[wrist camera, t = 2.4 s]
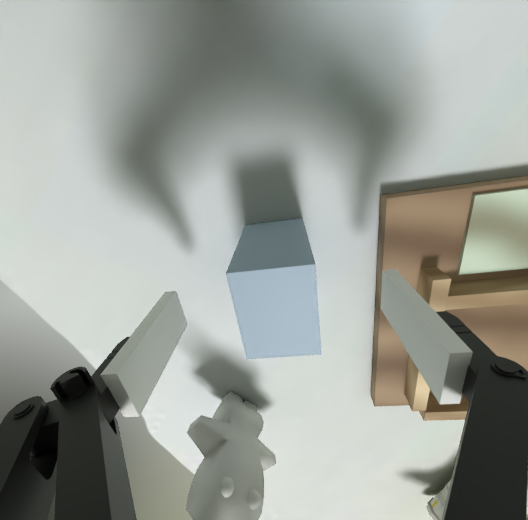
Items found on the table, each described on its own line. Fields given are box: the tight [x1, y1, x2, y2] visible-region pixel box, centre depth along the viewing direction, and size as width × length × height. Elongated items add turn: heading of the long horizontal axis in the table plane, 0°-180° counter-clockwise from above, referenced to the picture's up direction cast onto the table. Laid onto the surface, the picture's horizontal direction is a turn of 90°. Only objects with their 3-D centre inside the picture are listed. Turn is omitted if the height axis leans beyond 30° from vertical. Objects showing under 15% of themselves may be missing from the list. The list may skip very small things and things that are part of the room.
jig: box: [371, 176, 528, 421], centre depth 20 cm, size 22×19×3 cm
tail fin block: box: [226, 218, 321, 359], centre depth 17 cm, size 6×4×8 cm
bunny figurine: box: [186, 391, 276, 520], centre depth 23 cm, size 10×5×15 cm, turn 51°
